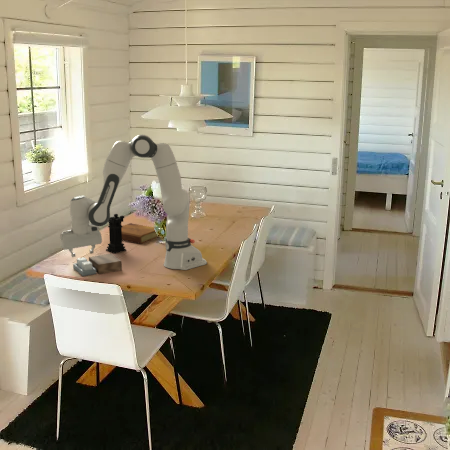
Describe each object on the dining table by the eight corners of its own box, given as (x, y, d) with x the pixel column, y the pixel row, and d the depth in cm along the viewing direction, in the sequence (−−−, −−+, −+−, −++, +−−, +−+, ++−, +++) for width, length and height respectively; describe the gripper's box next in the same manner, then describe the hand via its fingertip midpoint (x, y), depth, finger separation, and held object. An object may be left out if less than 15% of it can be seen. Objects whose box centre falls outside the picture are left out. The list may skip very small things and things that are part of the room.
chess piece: (126, 250, 328) (125, 215, 323) (114, 253, 323) (113, 218, 317) (117, 247, 334) (116, 213, 328) (106, 250, 328) (104, 215, 323)
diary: (110, 239, 352) (110, 229, 351) (130, 232, 368) (130, 223, 366) (140, 244, 341) (140, 235, 339) (160, 237, 356) (160, 228, 355)
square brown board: (111, 262, 308) (110, 253, 307) (121, 270, 297) (121, 260, 296) (89, 266, 302) (88, 257, 301) (99, 274, 291) (98, 264, 289)
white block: (84, 266, 300) (84, 257, 299) (87, 268, 297) (87, 259, 296) (77, 267, 298) (76, 258, 297) (79, 270, 295) (79, 260, 294)
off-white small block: (89, 270, 295) (89, 261, 293) (92, 272, 291) (92, 263, 290) (82, 271, 293) (81, 262, 291) (84, 274, 289) (84, 264, 288)
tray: (86, 266, 302) (86, 261, 302) (96, 274, 291) (96, 269, 290) (73, 268, 299) (73, 263, 298) (82, 276, 287) (82, 271, 287)
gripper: (62, 233, 284) (64, 260, 287) (102, 226, 295) (104, 253, 298) (57, 230, 289) (60, 256, 293) (97, 224, 300) (99, 250, 303)
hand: (82, 254), depth 295 cm, fingers open, 8 cm apart
